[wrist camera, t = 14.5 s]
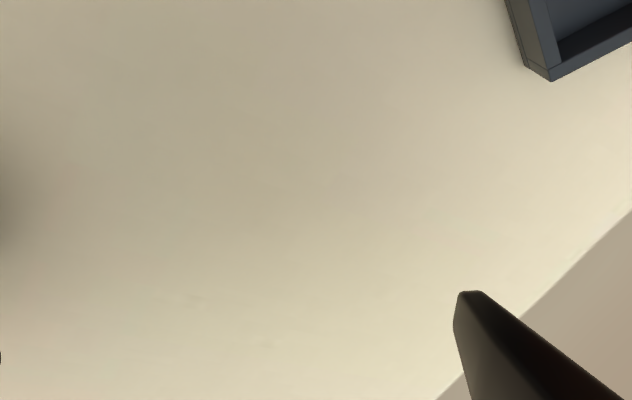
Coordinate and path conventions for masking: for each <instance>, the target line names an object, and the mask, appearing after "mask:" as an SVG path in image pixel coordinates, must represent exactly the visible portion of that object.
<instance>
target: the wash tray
mask: <svg viewBox="0 0 632 400" xmlns="http://www.w3.org/2000/svg"><path fill="white" fill-rule="evenodd" d="M505 3H506V6H507V9H508V13H509V16H510V19H511V22H512V26H513V29H514V32H515V35H516V39H517V42H518V45H519V48H520V52H521V55H522V58H523V61H524V65H525V66H526V67H527V68H529V69H531V70H532V71H534V72H535V73H537V74H539V75H540V76H542V77H543V78H545V79H547V80H548V81H550V82H553V81H555V80H557V79H559V78H561V77H563V76H565V75H567V74H569V73H571V72H573V71H575V70H577V69H579V68H581V67H583V66H585V65H587V64H589V63H591V62H592V61H594V60H596V59H598V58H600V57H602V56H604V55H606V54H608V53H610V52H612V51H614V50H616V49H618V48H620V47H622V46H624V45H626V44H628V43H630V42H631V41H632V0H505Z"/></svg>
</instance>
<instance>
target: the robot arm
mask: <svg viewBox="0 0 632 400" xmlns="http://www.w3.org/2000/svg"><path fill="white" fill-rule="evenodd" d="M453 332H454V336H455V340H456V343H457V347H458V351H459V355H460V358H461V362H462V366H463V370H464V373H465V377H466V380H467V384H468V388H469V392H470V395H471V399H472V400H624V399H622V398H621V397H620V396H618V395H617V394H616V393H615V392H613V391H612V390H610V389H609V388H608V387H607V386H605V385H604V384H603V383H601V382H600V381H599V380H598V379H596V378H595V377H594V376H592V375H591V374H590V373H588V372H587V371H586V370H584V369H583V368H582V367H580V366H579V365H578V364H577V363H575V362H574V361H573V360H571V359H570V358H569V357H567V356H566V355H565V354H564V353H562V352H561V351H560V350H558V349H557V348H556V347H554V346H553V345H552V344H550V343H549V342H548V341H546V340H545V339H544V338H543V337H541V336H540V335H539V334H537V333H536V332H535V331H533V330H532V329H531V328H529V327H528V326H527V325H526V324H524V323H523V322H521V321H520V320H519V319H518V318H516V317H515V316H514V315H512V314H511V313H510V312H508V311H507V310H506V309H505V308H503V307H502V306H501V305H499V304H498V303H497V302H495V301H494V300H493V299H491V298H490V297H489V296H487V295H486V294H485V293H483V292H482V291H478V290H475V291H462V292H460V293H459V295H458V298H457V303H456V308H455V313H454V318H453ZM0 363H1V352H0Z"/></svg>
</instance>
